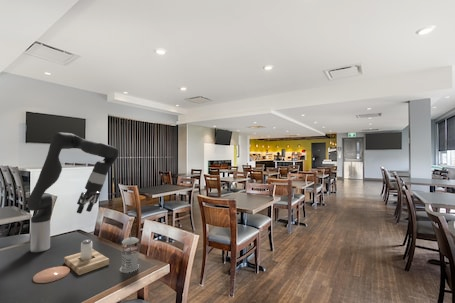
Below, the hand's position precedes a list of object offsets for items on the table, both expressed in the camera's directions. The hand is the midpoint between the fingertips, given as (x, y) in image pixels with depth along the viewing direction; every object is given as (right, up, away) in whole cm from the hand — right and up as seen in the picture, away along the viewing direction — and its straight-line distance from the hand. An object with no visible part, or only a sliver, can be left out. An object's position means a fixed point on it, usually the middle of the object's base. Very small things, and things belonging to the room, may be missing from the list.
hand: (83, 212), depth 120 cm
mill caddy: (-1, -28, +4) cm, 29 cm away
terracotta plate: (-10, -28, -8) cm, 31 cm away
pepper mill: (-1, -28, +4) cm, 29 cm away
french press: (+23, -29, 0) cm, 37 cm away
